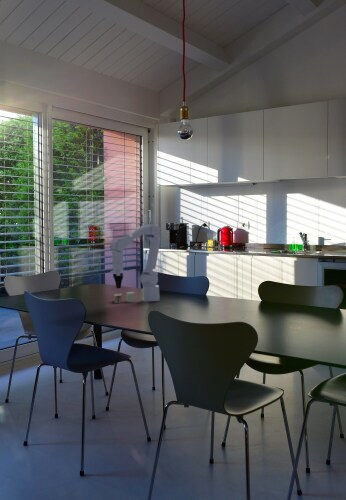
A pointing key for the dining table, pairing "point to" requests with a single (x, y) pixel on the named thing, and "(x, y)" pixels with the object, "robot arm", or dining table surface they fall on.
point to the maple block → (118, 298)
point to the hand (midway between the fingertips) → (118, 287)
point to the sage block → (130, 297)
